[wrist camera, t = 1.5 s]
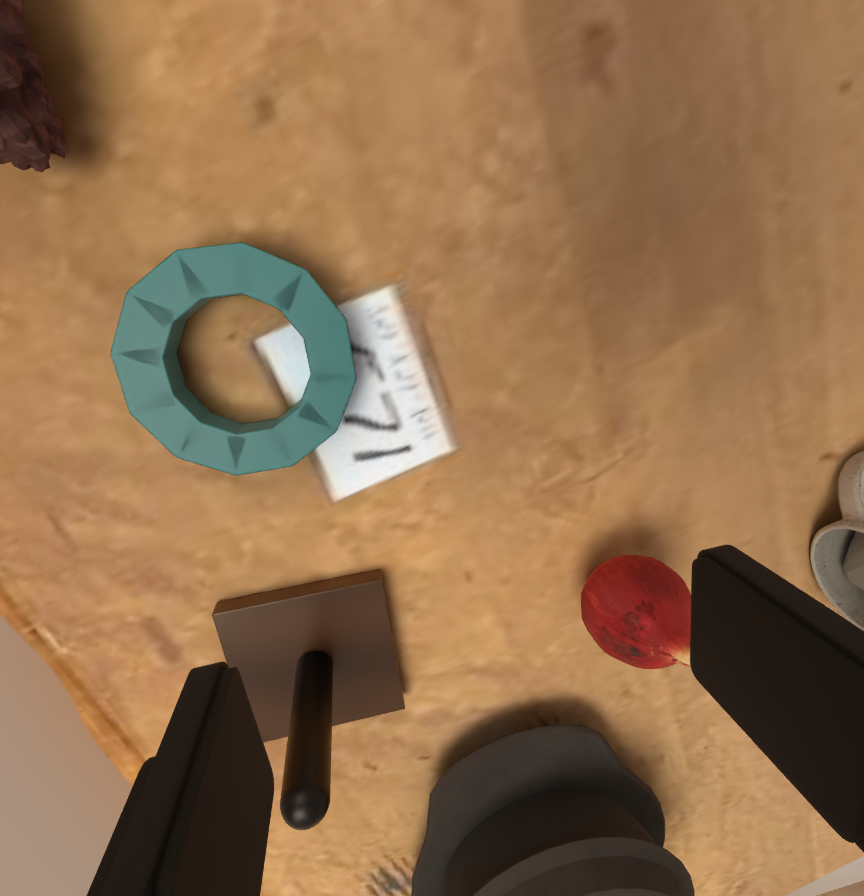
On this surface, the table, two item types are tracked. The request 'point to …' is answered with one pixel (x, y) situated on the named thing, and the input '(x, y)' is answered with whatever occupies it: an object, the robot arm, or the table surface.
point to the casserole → (546, 823)
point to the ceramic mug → (844, 547)
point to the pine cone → (25, 98)
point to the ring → (160, 376)
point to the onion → (638, 612)
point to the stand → (312, 673)
